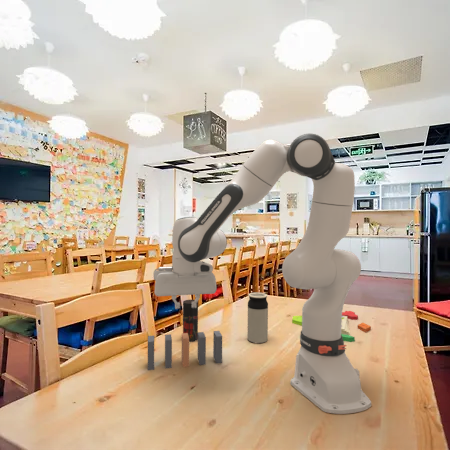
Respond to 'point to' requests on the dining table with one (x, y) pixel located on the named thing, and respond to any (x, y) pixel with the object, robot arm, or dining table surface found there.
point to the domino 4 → (201, 348)
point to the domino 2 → (168, 351)
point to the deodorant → (190, 320)
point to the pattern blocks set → (344, 325)
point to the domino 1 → (150, 352)
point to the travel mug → (257, 318)
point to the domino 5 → (217, 347)
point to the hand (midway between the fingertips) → (185, 308)
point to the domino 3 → (185, 349)
